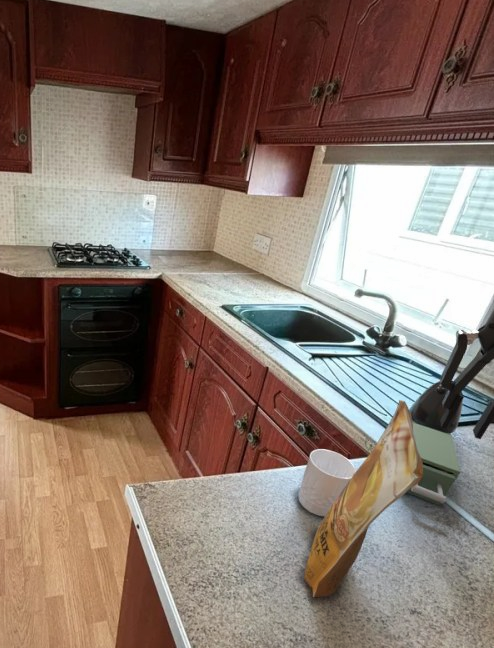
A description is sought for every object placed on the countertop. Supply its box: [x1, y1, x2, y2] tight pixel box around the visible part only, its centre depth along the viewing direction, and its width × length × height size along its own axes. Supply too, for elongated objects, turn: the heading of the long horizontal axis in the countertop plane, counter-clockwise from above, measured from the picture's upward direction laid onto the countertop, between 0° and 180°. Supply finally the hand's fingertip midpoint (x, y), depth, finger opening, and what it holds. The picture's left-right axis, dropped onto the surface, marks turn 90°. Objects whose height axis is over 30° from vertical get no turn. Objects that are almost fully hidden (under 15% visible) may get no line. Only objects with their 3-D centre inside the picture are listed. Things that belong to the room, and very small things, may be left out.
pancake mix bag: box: [303, 399, 423, 598], centre depth 60 cm, size 7×19×28 cm, turn 145°
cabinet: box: [413, 423, 461, 506], centre depth 86 cm, size 15×9×9 cm, turn 148°
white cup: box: [297, 448, 358, 517], centre depth 76 cm, size 8×8×10 cm
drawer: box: [406, 462, 456, 506], centre depth 83 cm, size 18×7×7 cm, turn 148°
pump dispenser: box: [409, 380, 464, 435], centre depth 101 cm, size 10×10×15 cm
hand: (459, 429), depth 72 cm, fingers open, 4 cm apart
